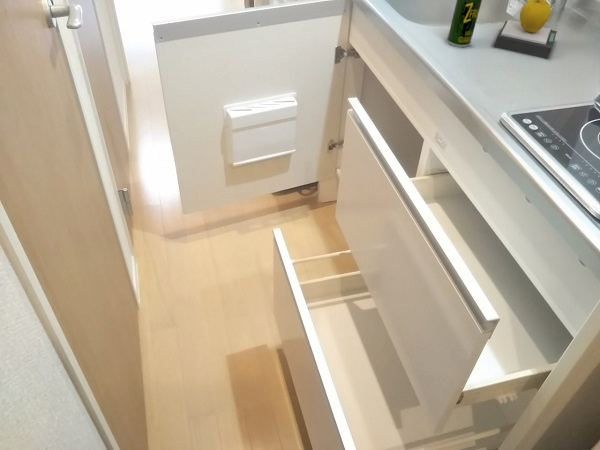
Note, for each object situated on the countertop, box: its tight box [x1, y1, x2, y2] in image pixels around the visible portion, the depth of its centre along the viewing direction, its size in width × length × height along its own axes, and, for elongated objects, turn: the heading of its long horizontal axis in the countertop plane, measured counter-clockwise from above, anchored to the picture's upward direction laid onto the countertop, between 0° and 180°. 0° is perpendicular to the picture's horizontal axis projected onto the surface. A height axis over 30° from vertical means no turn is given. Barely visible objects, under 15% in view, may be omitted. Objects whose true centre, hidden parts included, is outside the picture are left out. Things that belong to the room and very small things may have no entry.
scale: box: [494, 19, 558, 59], centre depth 122 cm, size 12×11×3 cm
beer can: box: [447, 0, 483, 48], centre depth 118 cm, size 5×5×12 cm
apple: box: [519, 0, 552, 33], centre depth 119 cm, size 6×6×8 cm
